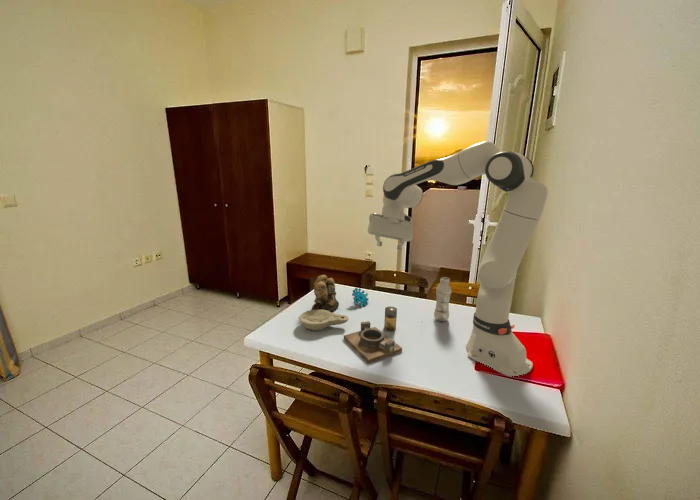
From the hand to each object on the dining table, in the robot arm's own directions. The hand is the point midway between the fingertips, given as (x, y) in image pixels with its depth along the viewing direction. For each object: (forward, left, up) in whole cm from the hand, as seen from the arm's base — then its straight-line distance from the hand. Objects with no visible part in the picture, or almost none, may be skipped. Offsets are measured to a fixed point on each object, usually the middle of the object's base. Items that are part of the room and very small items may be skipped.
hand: (389, 247), depth 129 cm
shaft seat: (-14, +17, -34) cm, 40 cm away
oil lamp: (+8, +27, -34) cm, 44 cm away
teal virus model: (+20, +1, -34) cm, 40 cm away
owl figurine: (+24, +19, -34) cm, 46 cm away
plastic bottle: (-12, -22, -34) cm, 42 cm away
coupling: (-7, +3, -34) cm, 35 cm away
